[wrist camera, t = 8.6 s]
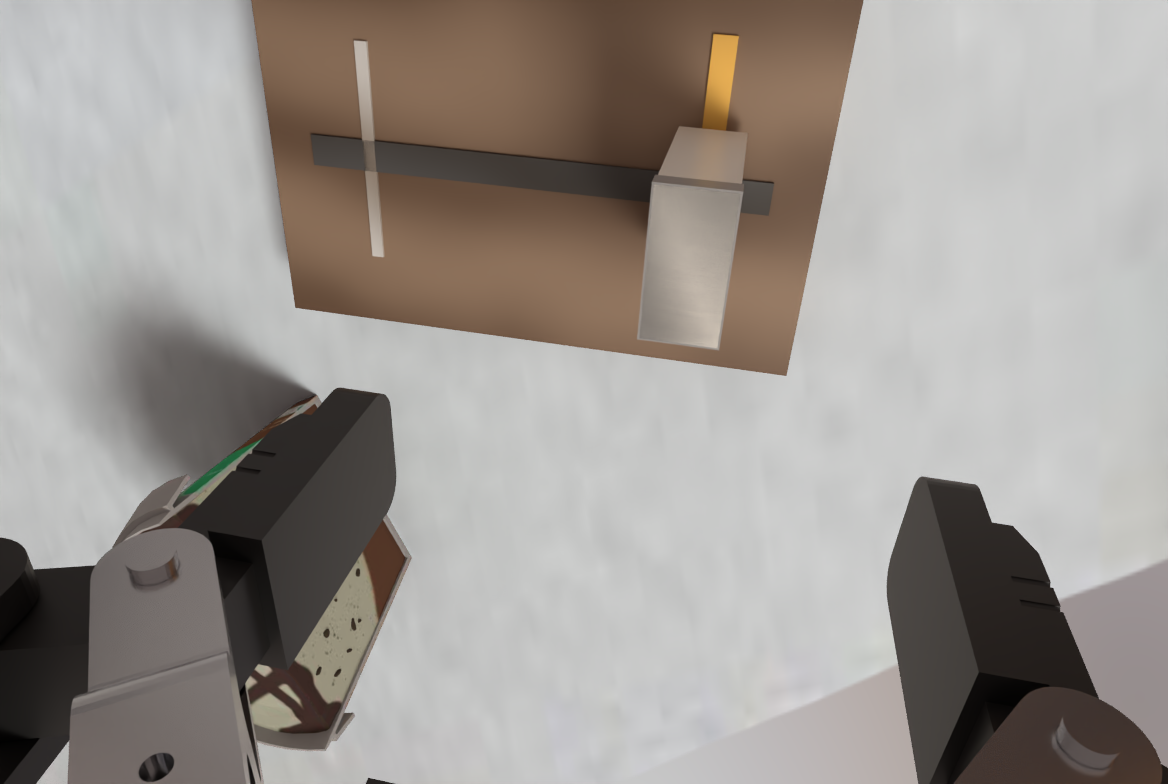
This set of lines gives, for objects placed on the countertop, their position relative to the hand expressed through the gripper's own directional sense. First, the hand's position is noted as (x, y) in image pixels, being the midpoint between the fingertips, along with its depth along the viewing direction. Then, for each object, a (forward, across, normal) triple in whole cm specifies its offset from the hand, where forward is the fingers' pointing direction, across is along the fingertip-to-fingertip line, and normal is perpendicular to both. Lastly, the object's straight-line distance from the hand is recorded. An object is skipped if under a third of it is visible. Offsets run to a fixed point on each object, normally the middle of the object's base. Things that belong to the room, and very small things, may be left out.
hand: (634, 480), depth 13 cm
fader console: (+18, +5, 0) cm, 19 cm away
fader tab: (+15, 0, 0) cm, 15 cm away
